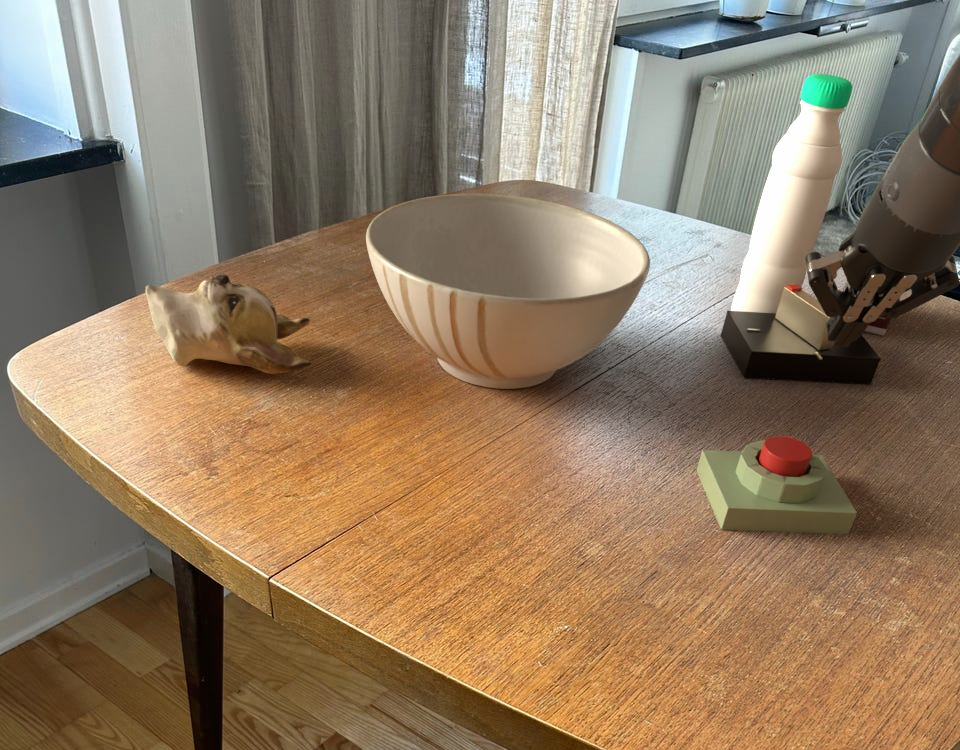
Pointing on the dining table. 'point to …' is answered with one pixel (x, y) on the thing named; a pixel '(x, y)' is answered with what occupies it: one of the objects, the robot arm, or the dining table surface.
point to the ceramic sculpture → (224, 326)
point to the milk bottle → (794, 197)
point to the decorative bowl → (504, 282)
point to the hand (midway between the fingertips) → (837, 338)
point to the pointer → (803, 316)
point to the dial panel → (792, 352)
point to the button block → (773, 494)
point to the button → (785, 456)
